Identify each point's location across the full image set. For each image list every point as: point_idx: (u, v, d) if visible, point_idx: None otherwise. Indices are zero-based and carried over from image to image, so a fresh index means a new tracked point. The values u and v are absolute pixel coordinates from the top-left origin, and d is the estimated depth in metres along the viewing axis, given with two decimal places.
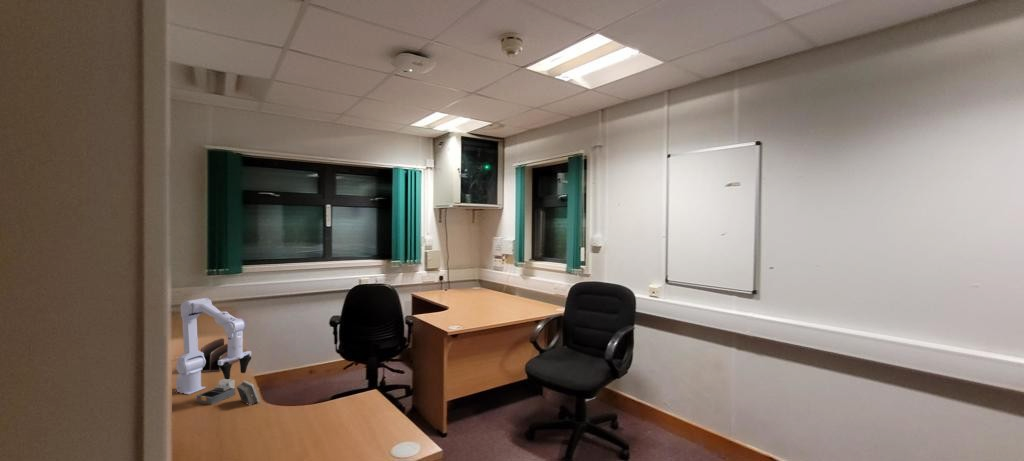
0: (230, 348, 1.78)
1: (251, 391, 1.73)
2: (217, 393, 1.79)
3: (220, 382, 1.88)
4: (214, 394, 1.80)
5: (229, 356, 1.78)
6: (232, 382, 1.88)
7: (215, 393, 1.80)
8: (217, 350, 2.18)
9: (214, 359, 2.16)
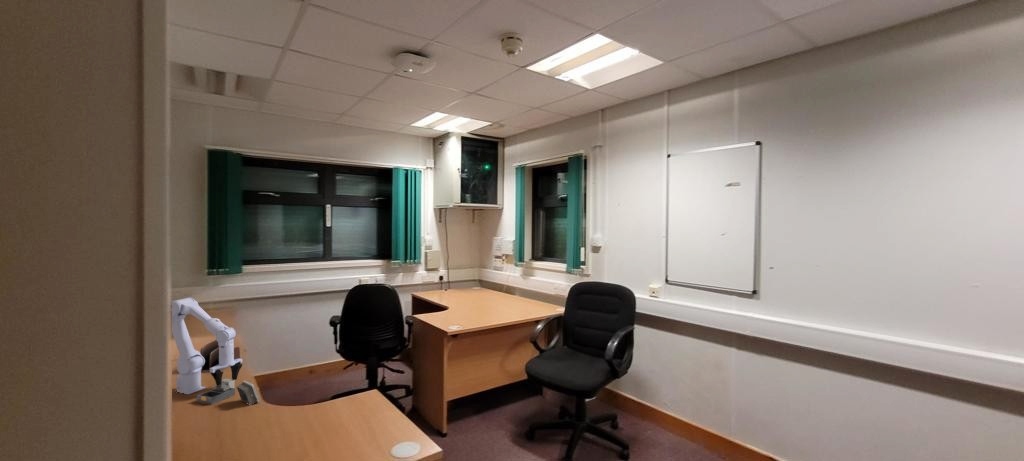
0: (221, 356, 1.86)
1: (251, 391, 1.73)
2: (217, 393, 1.79)
3: None
4: (214, 394, 1.80)
5: (220, 364, 1.86)
6: (232, 382, 1.88)
7: (215, 393, 1.80)
8: (217, 350, 2.18)
9: (214, 359, 2.16)
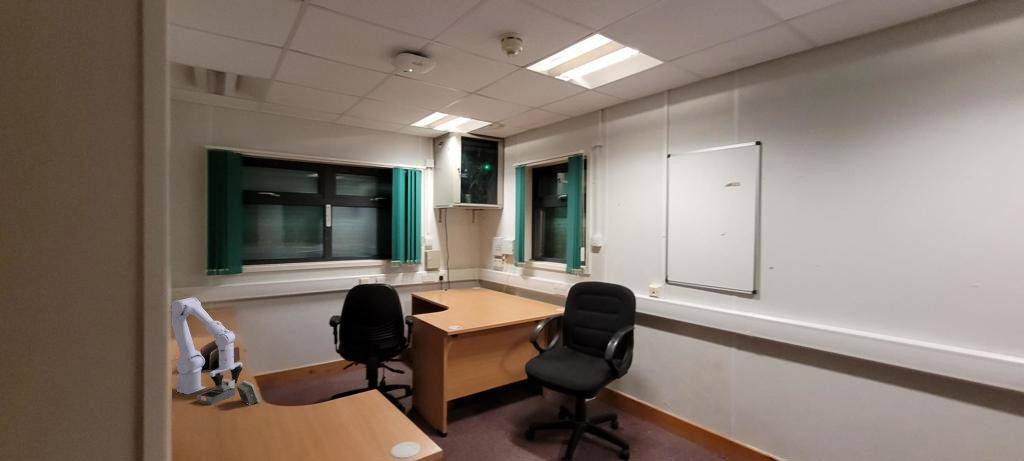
0: (221, 360, 1.86)
1: (251, 391, 1.73)
2: (217, 393, 1.79)
3: None
4: (214, 394, 1.80)
5: (220, 367, 1.86)
6: (232, 382, 1.88)
7: (215, 393, 1.80)
8: (217, 350, 2.18)
9: (214, 359, 2.16)
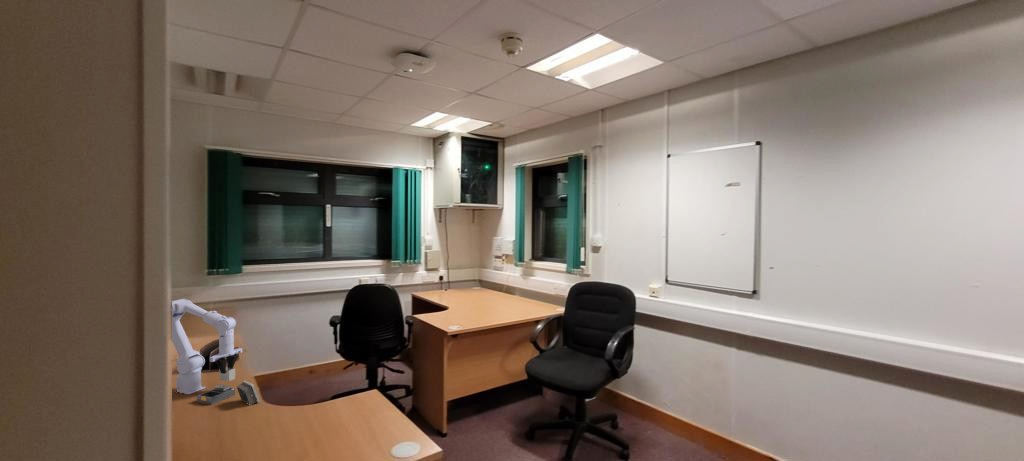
0: (221, 345, 1.86)
1: (251, 391, 1.73)
2: (217, 393, 1.79)
3: None
4: (214, 394, 1.80)
5: (220, 353, 1.86)
6: (233, 370, 1.88)
7: (215, 393, 1.80)
8: (216, 350, 2.18)
9: None
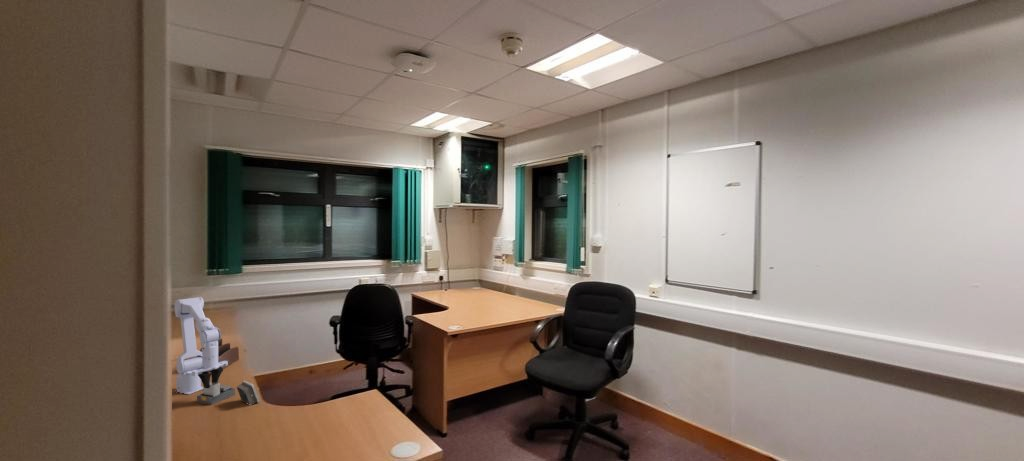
0: (205, 358, 1.75)
1: (251, 391, 1.73)
2: None
3: None
4: None
5: (204, 366, 1.75)
6: (217, 385, 1.77)
7: None
8: None
9: None
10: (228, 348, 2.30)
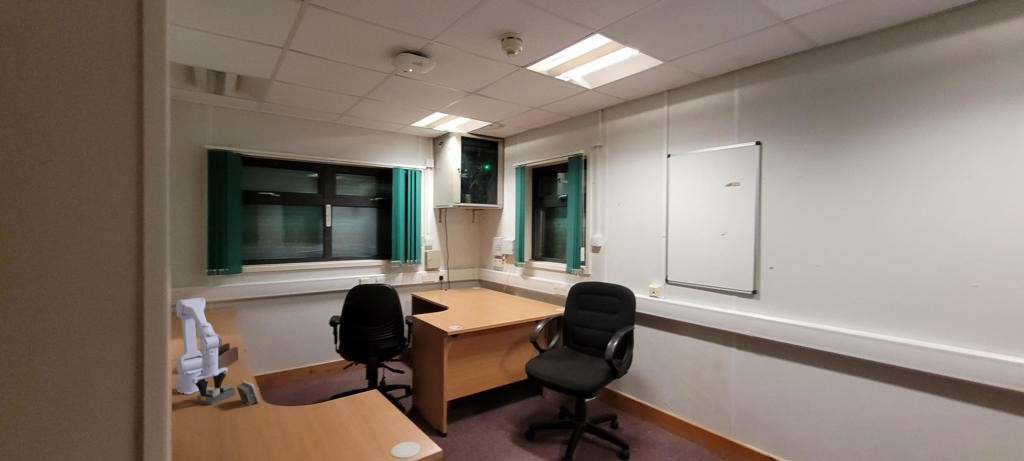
0: (205, 365, 1.75)
1: (251, 391, 1.73)
2: None
3: None
4: None
5: (204, 373, 1.75)
6: (217, 390, 1.77)
7: None
8: None
9: None
10: (227, 348, 2.30)
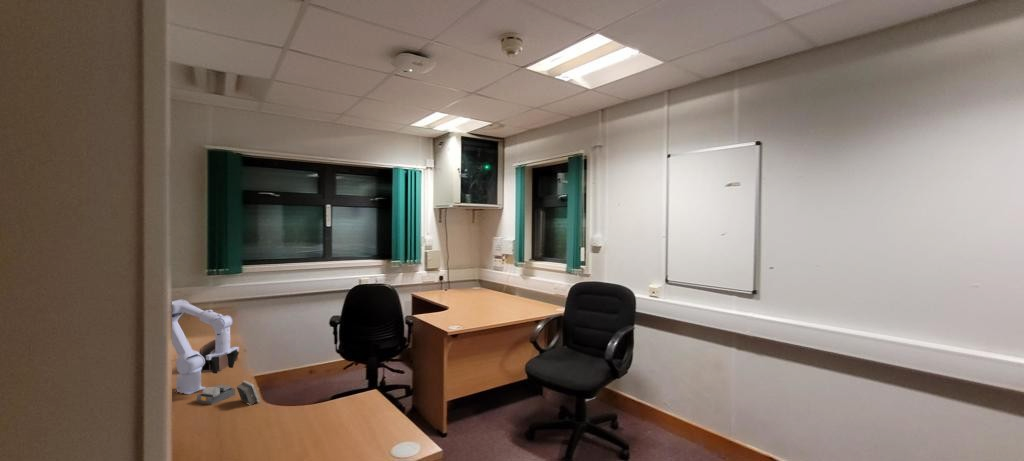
0: (218, 343, 1.85)
1: (251, 391, 1.73)
2: None
3: (204, 391, 1.77)
4: None
5: (217, 351, 1.85)
6: (217, 390, 1.77)
7: None
8: None
9: None
10: None
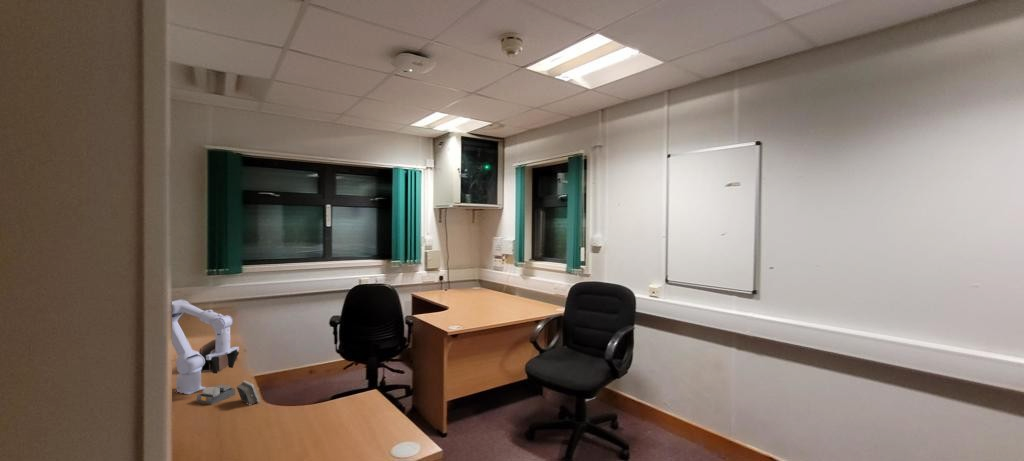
0: (218, 343, 1.85)
1: (251, 391, 1.73)
2: None
3: (204, 391, 1.77)
4: None
5: (217, 351, 1.85)
6: (217, 390, 1.77)
7: None
8: (215, 350, 2.18)
9: None
10: None
